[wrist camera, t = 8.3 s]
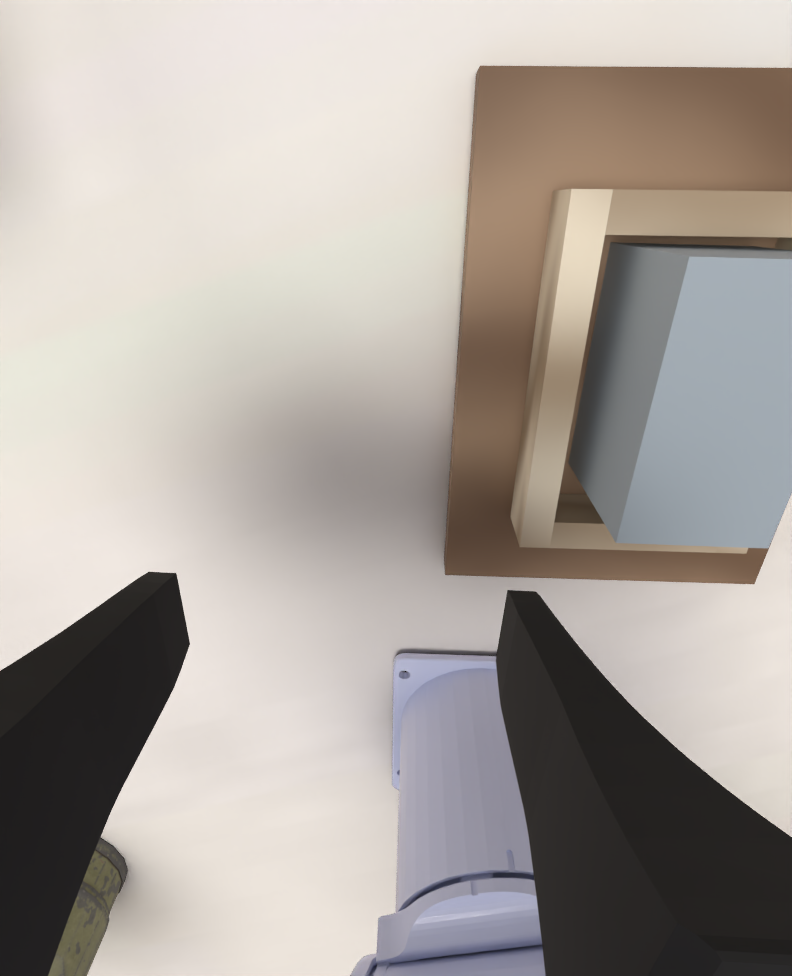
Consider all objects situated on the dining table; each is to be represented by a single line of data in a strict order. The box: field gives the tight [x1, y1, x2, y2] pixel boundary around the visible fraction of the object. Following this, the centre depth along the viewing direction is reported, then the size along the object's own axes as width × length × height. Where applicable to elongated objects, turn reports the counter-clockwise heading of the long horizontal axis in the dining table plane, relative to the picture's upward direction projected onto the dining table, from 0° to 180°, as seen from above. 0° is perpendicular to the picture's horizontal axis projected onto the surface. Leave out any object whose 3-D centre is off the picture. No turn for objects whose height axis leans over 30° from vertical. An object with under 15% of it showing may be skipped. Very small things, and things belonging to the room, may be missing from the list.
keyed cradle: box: [444, 66, 792, 584], centre depth 17 cm, size 16×12×3 cm
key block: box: [568, 242, 792, 548], centre depth 15 cm, size 4×7×5 cm, turn 179°
